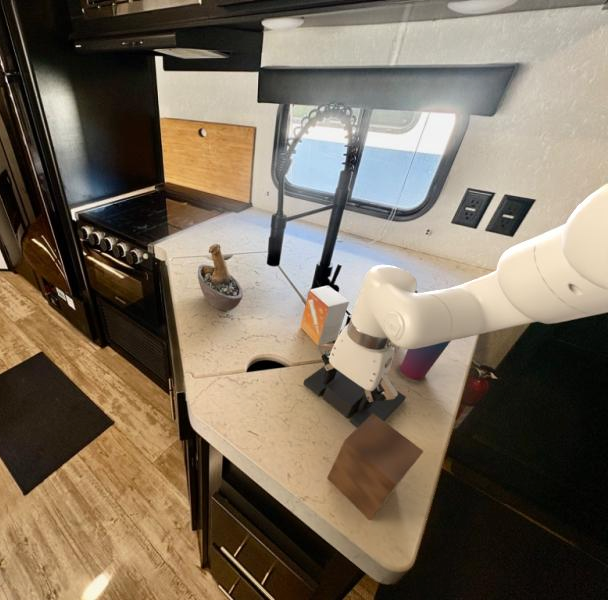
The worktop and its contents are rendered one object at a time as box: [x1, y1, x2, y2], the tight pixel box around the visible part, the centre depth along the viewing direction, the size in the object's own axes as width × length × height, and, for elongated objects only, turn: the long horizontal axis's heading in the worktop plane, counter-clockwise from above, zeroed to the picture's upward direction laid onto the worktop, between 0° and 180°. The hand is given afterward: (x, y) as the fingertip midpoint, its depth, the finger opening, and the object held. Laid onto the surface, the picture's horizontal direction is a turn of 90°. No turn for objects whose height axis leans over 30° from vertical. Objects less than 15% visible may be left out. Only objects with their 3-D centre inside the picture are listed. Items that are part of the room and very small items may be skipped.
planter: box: [197, 243, 244, 312], centre depth 91 cm, size 15×17×20 cm
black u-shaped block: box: [303, 365, 407, 429], centre depth 69 cm, size 16×14×2 cm
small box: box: [300, 285, 350, 347], centre depth 82 cm, size 8×6×13 cm
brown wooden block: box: [326, 413, 424, 521], centre depth 50 cm, size 8×8×12 cm
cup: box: [399, 340, 452, 381], centre depth 70 cm, size 7×7×15 cm
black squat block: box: [322, 374, 366, 419], centre depth 66 cm, size 6×6×4 cm
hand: (345, 393), depth 66 cm, fingers open, 7 cm apart
